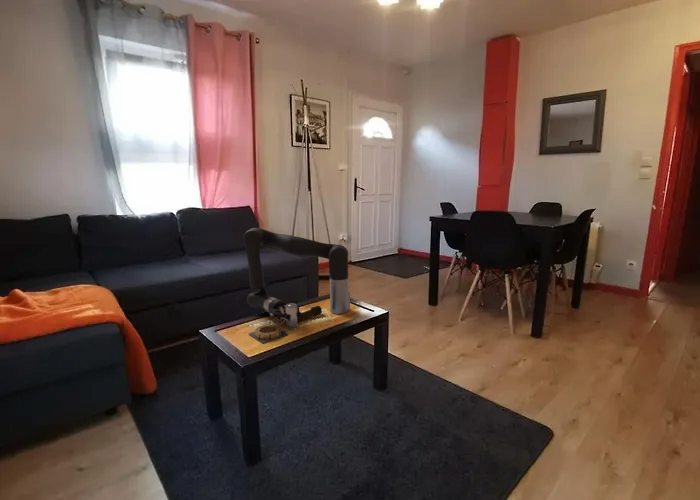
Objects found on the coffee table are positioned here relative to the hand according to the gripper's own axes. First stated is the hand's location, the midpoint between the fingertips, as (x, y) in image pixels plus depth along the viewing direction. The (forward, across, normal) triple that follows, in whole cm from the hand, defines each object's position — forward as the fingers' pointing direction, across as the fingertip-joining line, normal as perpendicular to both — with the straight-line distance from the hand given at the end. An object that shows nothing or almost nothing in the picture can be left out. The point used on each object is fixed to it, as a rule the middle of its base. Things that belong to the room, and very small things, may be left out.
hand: (294, 315), depth 160 cm
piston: (-3, 0, +6) cm, 7 cm away
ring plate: (-3, -12, +6) cm, 14 cm away
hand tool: (-8, +11, +6) cm, 15 cm away
